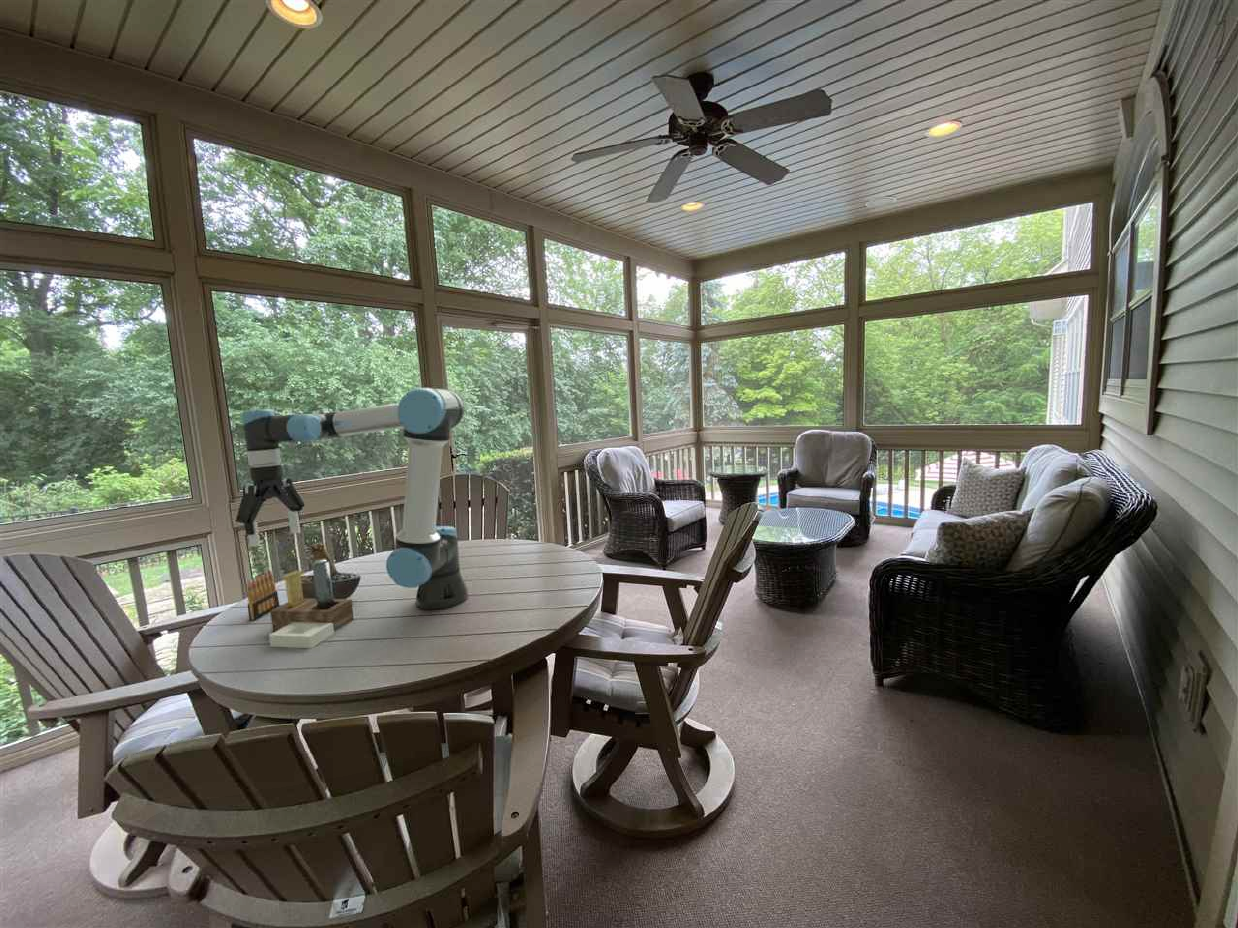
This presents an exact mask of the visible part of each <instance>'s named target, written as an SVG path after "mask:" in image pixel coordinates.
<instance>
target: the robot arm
mask: <svg viewBox="0 0 1238 928" xmlns="http://www.w3.org/2000/svg"><path fill="white" fill-rule="evenodd" d="M464 415H465V407H464V403H463V401H462V399H461V398H460V396H459V395H458V394H456V393H455V392H453V391H452V390H449V389H446V388H434V387H433V388H431V387H420V388H414V389H412V390H410V391H408V392H407V393H405V394H404V395H403V396H402V397H401V399H400V401H399V403H398V402H396V403H391V404H384V405H376V406H375V405H374V406H369V407H362V408H354V409H348V410H339V411H334V412H333V411H332V412H327V413H325V412H324V413H311V414H310V413H296V414H285V415H276V414H275V411H274V410H273V409H272V408H271V409H267V408H266V409H265V408H264V409H251V410H247V409H246V410H245V411H243V412H242V414H241V417H242V421H241V422H242V425H241V427H242V430H243V435H244V441H245V447H246V454H247V455H246V456H247V461H248V465H249V466H251V467H250V468H249V476H250V480H251V481H252V482H253V485H244V486H243V487H242V495H241V496H242V497H241V500H240V503H239V508H238V511H237V514H236V518H235V522H236V523H241V524H243V525H244V530H245V535H246V536H247V537H248V543H249V547H260V546H261V542H260V534H259V526H258V522H257V521H255V520H256V517H257V516H258V514H259V512H260V510H261V508H262V506H263V504H264V503H265V502H266V501H267V500H268V499H272V498H276V499H278V500H279V501H280V502H281V503H282V504H283V505H284V506H285V507H286V508H287V509H288V510H290V511H287V517H288V521H289V528H290V529H289V531H290V534H300V533H301V525H300V521H301V517H300V516H301V514H300V511H302V510H303V508H304V507H305V503H304V501H303V499H302V498H301V497H300V495H299V493H298V491H297V489H296V488H295V487H294V484H293V480H292V478H283V477H284V472H283V465H282V464H280V463H282V459H281V458H282V457H281V449H280V444H281V443H306V442H312V441H313V442H314V441H315V440H327V439H329V440H330V439H337V438H341V437H347V436H356V435H357V436H358V435H362V434H363V435H364V434H373V433H379V432H386V431H394V430H402V429H403V438H404V439H405V440H406V441H407V444H408V453H407V454H408V455H407V468H406V479H405V491H404V502H403V503H404V506H403V515H402V516H403V518H402V529H401V530H400V531H398V533H396V535H395V543H394V550H393V551H391V552H390V554H389V555H388V557H387V559H386V562H385V569H386V572H387V574H388V576H389V578H390V579H392V581H393V582H394V583H395V584H397V585H398V586H400V587H403V588H407V589H411V588H412V589H413V588H417V591H416V594H415V595H416V596H415V602H416V606H417V607H418V608H420V609H424V610H438V609H440V610H441V609H446V608H449V607H454V606H457V605H458V604H459V605H460V604H461V603H463V602H464V601H466V600H467V599H468V597H469V590H468V587H467V585H466V582H465V580H464V578H463V576H462V574H461V567H460V555H459V553H460V552H459V542H458V541H459V540H458V538H459V537H458V533H457V529H456V527H454V526H451V525H441V526H440V525H439V526H438V525H437V519H438V518H437V517H438V508H439V507H438V505H439V496H440V495H439V494H440V484H441V474H442V473H441V472H442V461H443V459H442V458H443V448H444V446H445V445H446V444H447V443H449V441H450V436H451V429H453V428H455V427H457V426H458V425H459V424H460V423H461V421H462V420H463V417H464Z"/></svg>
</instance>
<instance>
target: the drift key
mask: <svg viewBox="0 0 1238 928" xmlns="http://www.w3.org/2000/svg"><path fill="white" fill-rule="evenodd" d="M301 576H304V570H294V571H292V572H291V571H290V572H289V573H286V574H284V575H282V576H281V581H284V583H285V589H286V590H285V591H286V597H287V602H288V606H289V608H293V607H295V606H297V605H299V604H301V603H303V602H304V600H303V592H302V584H301Z"/></svg>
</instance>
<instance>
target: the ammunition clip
mask: <svg viewBox="0 0 1238 928" xmlns="http://www.w3.org/2000/svg"><path fill="white" fill-rule="evenodd" d="M247 601H248V603H247V613H248V621H249V622H250V621H251V622H254V621H257V620H259V619H261V618H262V617H264V616H265V615H268V614H269V613H270V611H271V610H273V609H275V608H277V607H279V606H280V601H279V594H278V590H277V589H276V583H275V580H274V574H273V572H272V571H271V570H270V569H268V573H267V572H265V573H264V575H263V573H261V574H260V577H259V575H257V576H256V579H255V577H253V578H252V581H251V580H248V581H247Z"/></svg>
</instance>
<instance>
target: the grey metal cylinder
mask: <svg viewBox="0 0 1238 928" xmlns="http://www.w3.org/2000/svg"><path fill="white" fill-rule="evenodd" d="M312 572H313V573H312V575H314V583H315V591H316V599H317V607H318V609H329V608H331V607H333V606H334V599H333V591H332V582H331V574H330V566H329V561H326V559H320V560H316V559H315V560H314V563H312Z"/></svg>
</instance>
